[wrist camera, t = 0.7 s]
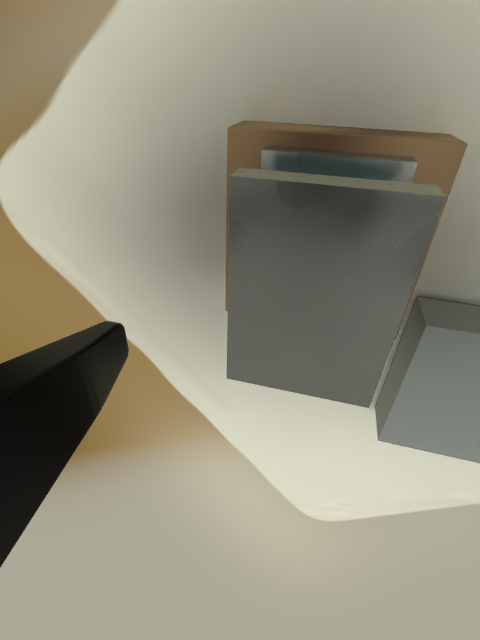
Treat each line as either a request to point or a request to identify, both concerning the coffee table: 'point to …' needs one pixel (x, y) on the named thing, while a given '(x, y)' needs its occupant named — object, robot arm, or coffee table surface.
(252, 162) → the stand
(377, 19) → the coffee table surface
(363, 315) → the housing
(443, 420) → the stand
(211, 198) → the coffee table surface
